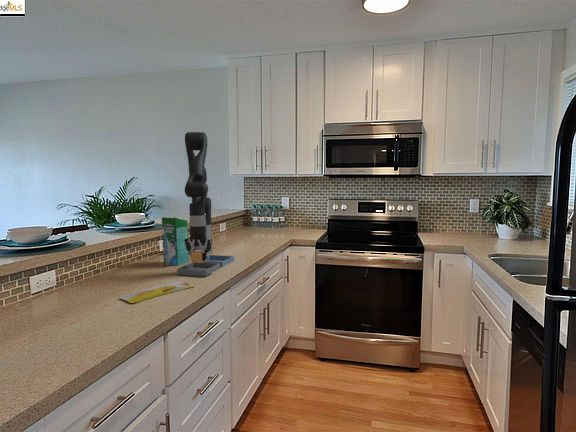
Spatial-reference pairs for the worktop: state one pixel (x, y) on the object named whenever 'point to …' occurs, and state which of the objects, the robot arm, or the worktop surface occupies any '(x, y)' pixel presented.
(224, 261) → the slate-blue tray
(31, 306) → the worktop surface
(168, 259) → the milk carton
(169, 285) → the food package
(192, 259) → the orange cube
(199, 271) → the charcoal tray
